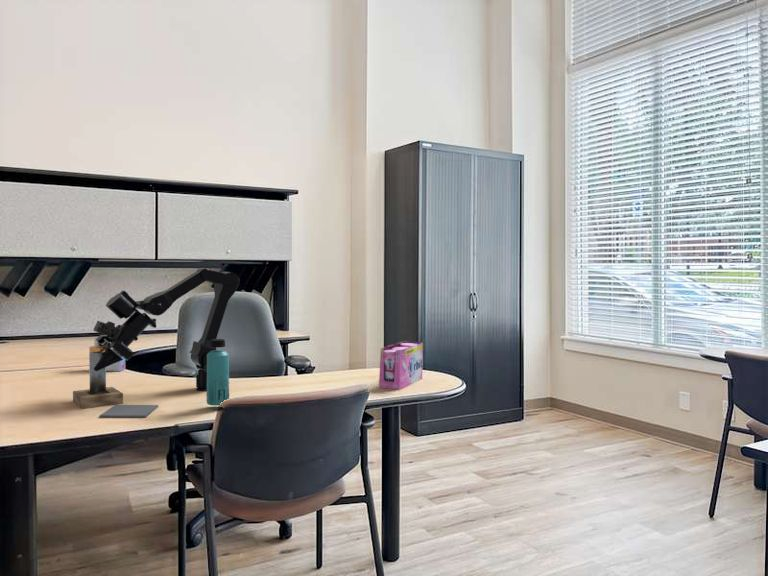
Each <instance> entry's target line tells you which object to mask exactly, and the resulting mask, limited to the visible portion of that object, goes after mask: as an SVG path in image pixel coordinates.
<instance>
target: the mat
mask: <svg viewBox="0 0 768 576" xmlns="http://www.w3.org/2000/svg"><path fill="white" fill-rule="evenodd" d="M158 408H159V404H115V405H113V406H112V407H110V408H108V409H107V410H106V411H104V412H103V413H101V414H100V415H99V419H100V418H101V419H103V418H104V419H105V418H106V419H107V418H109V419H110V418H111V419H117V418H118V419H120V418H121V419H122V418H123V419H125V418H126V419H127V418H128V419H129V418H130V419H133V418H134V419H135V418H136V419H138V418H139V419H144V418H145V419H146V418H147V417H148V416H150V415H151V414H152V413H153V412H154V411H155V410H157V409H158Z"/></svg>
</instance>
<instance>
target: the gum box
mask: <svg viewBox="0 0 768 576" xmlns="http://www.w3.org/2000/svg"><path fill="white" fill-rule="evenodd" d="M423 353H424V342H423V341H422V342H421V341H420V342H418V341H410V340H409V341H408V340H404V341H400V342H396V343H394V344H389V345H386V346H384V347H383V346H382V347H381V348H380V356H379V357H380V360H379V378H378V381H379V382H378V383H379V384H378V387H379V388H383V389H391V390H398V391H400V390H401V389H403V388H405V387H408V386H410V385H412V384H414V383H416V382H418V380H419V381H420V380H422V379H423V363H424V361H423V358H424V354H423Z"/></svg>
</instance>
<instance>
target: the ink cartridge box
mask: <svg viewBox="0 0 768 576" xmlns="http://www.w3.org/2000/svg"><path fill="white" fill-rule="evenodd" d="M105 335H106V334H105ZM106 336H107V335H106ZM97 338H98V337H97ZM97 338H94V341H93V342H94V343H93V344H94V345H93V346H98V344H97V343H99V342H97V341H96V339H97ZM121 358H122V359H123V360H122V361H119V362H116V363H114V364H112V365H109V366H107V367H106V372H121V371H124V370H126V359H124V357H123V356H122V357H121Z"/></svg>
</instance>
